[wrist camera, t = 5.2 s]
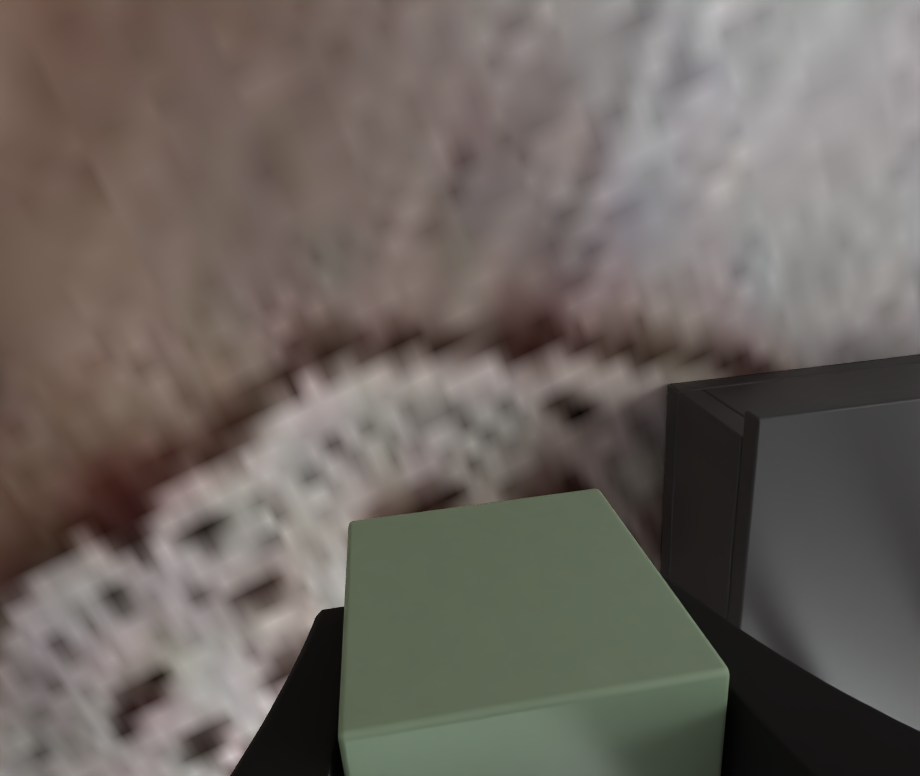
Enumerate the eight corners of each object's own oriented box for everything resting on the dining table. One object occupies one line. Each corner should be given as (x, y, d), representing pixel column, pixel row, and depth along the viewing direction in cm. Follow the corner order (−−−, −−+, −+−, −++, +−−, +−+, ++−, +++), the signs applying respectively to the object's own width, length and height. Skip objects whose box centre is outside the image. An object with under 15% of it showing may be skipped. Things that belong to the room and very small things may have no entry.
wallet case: (666, 383, 16) (741, 436, 13) (1040, 339, 17) (1193, 378, 14) (649, 834, 22) (698, 950, 18) (934, 778, 23) (1027, 879, 19)
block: (378, 718, 12) (383, 998, 8) (347, 519, 10) (336, 738, 6) (599, 681, 12) (710, 928, 8) (599, 486, 11) (734, 670, 7)
